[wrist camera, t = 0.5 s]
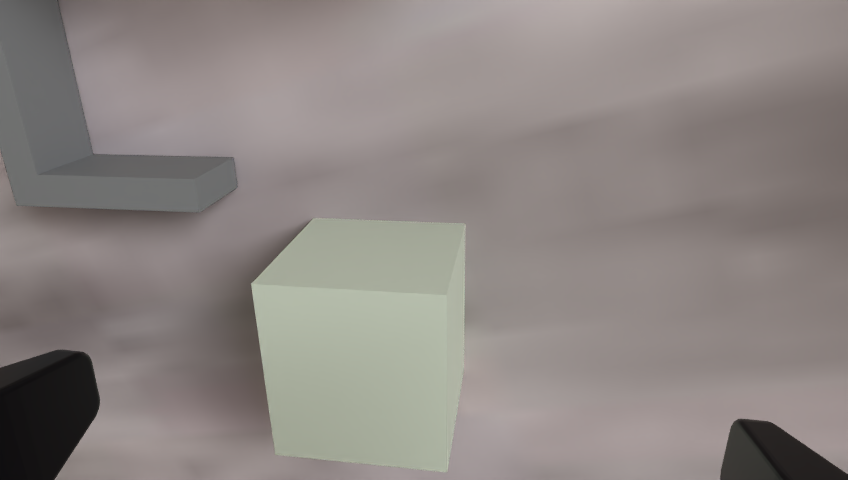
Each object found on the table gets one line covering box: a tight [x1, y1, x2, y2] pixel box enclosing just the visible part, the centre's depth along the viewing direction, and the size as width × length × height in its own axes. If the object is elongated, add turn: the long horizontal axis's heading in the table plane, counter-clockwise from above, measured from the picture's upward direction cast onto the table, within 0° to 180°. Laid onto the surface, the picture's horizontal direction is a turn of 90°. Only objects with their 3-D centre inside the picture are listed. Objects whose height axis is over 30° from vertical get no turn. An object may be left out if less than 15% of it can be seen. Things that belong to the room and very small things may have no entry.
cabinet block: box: [251, 218, 465, 472], centre depth 18 cm, size 6×5×5 cm
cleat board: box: [0, 0, 238, 212], centre depth 15 cm, size 10×14×5 cm
